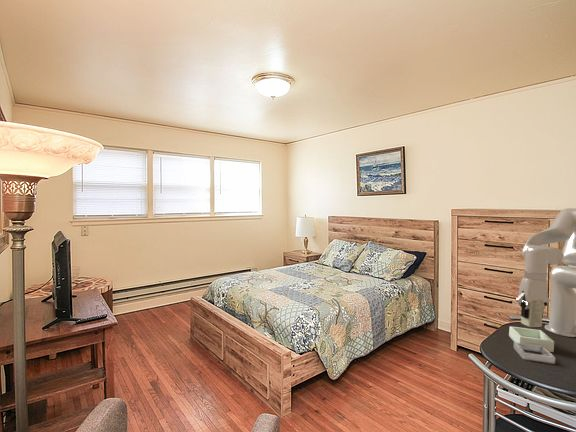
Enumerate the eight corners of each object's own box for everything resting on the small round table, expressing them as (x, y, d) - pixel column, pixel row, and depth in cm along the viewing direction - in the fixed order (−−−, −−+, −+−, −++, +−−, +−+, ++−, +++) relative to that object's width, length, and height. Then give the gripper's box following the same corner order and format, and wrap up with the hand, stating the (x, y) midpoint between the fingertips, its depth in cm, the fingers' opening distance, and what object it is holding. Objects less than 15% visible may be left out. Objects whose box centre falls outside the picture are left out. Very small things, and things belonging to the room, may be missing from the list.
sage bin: (539, 340, 142) (540, 330, 142) (553, 352, 131) (554, 341, 131) (508, 335, 146) (509, 326, 146) (519, 347, 134) (520, 336, 134)
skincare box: (532, 322, 140) (535, 295, 140) (542, 327, 136) (544, 299, 135) (520, 323, 140) (522, 295, 139) (528, 327, 135) (531, 299, 135)
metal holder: (542, 351, 131) (542, 345, 131) (554, 364, 121) (555, 357, 121) (513, 347, 134) (513, 341, 134) (523, 359, 124) (523, 353, 124)
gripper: (544, 274, 142) (541, 313, 143) (509, 273, 139) (506, 314, 140) (561, 278, 134) (557, 320, 135) (524, 278, 132) (521, 320, 133)
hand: (531, 316), depth 138 cm, fingers closed on skincare box, 6 cm apart
